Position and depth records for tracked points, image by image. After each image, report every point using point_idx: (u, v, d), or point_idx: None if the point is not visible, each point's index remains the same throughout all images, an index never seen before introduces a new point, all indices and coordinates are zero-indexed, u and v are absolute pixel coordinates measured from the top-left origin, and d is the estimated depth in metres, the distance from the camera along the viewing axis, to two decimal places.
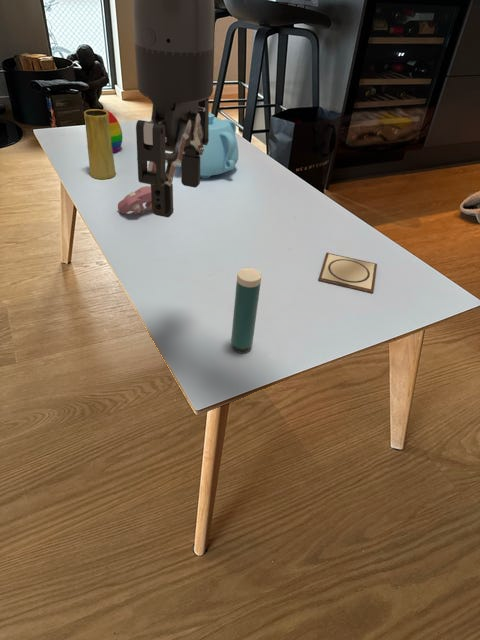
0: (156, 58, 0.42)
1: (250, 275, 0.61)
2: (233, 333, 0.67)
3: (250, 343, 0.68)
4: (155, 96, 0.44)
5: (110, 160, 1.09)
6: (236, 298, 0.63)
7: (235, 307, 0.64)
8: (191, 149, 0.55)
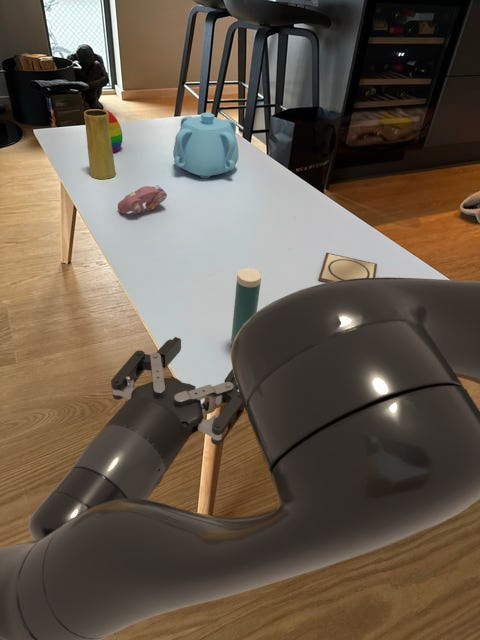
0: (168, 465, 0.45)
1: (250, 275, 0.61)
2: (233, 333, 0.67)
3: None
4: (185, 442, 0.47)
5: (110, 160, 1.09)
6: (236, 298, 0.63)
7: (235, 307, 0.64)
8: None
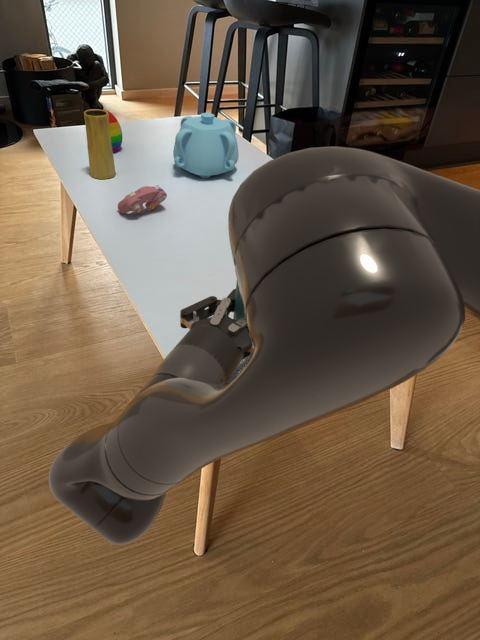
0: (227, 379, 0.54)
1: None
2: None
3: None
4: (238, 364, 0.57)
5: (110, 160, 1.09)
6: (236, 298, 0.63)
7: (235, 307, 0.64)
8: (228, 308, 0.64)
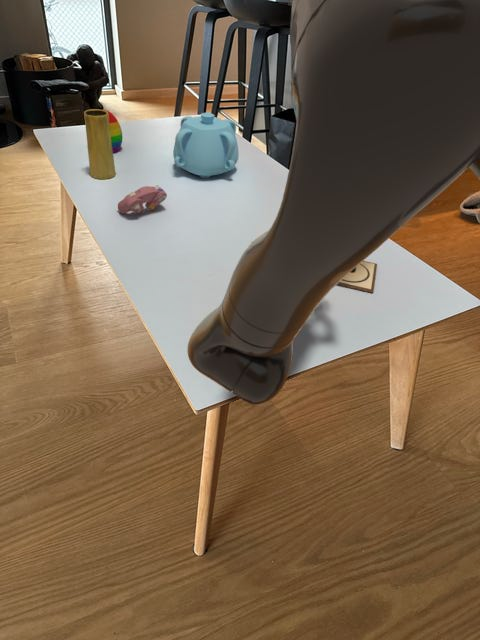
0: None
1: None
2: None
3: None
4: None
5: (110, 160, 1.09)
6: None
7: None
8: None
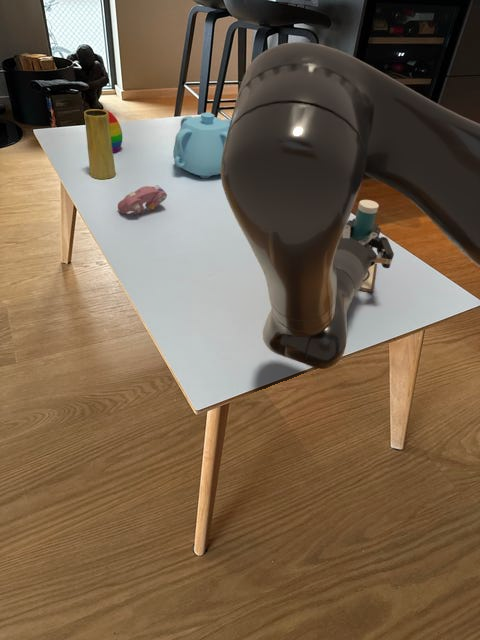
0: None
1: (370, 204, 0.77)
2: None
3: None
4: None
5: (110, 160, 1.09)
6: (356, 224, 0.79)
7: (353, 232, 0.80)
8: None
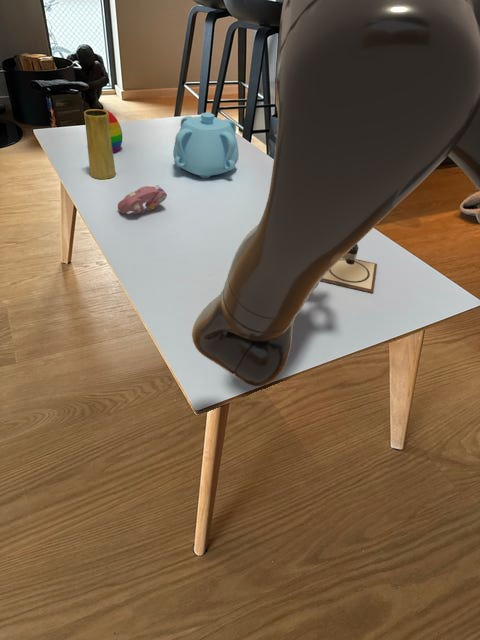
0: None
1: None
2: None
3: None
4: None
5: (110, 160, 1.09)
6: None
7: None
8: None
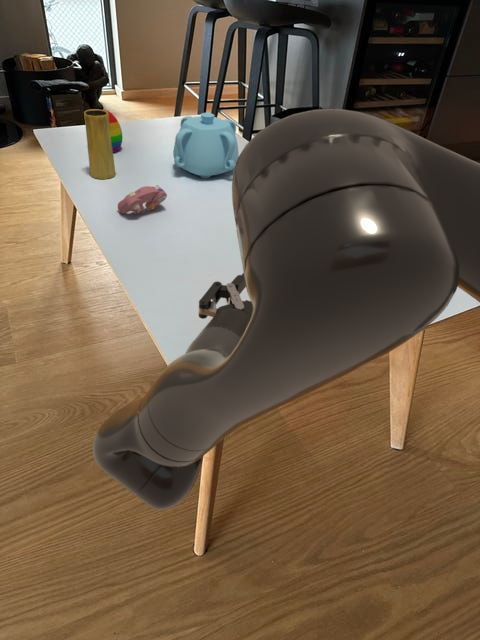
0: None
1: None
2: None
3: None
4: None
5: (110, 160, 1.09)
6: None
7: None
8: None
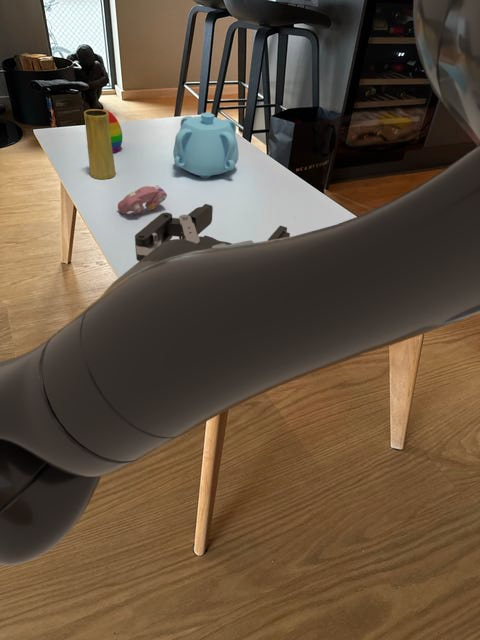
0: None
1: None
2: None
3: None
4: None
5: (110, 160, 1.09)
6: None
7: None
8: None
